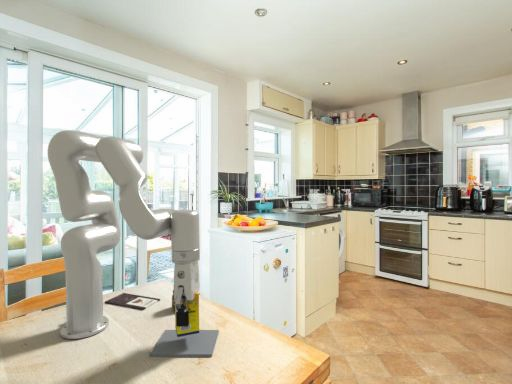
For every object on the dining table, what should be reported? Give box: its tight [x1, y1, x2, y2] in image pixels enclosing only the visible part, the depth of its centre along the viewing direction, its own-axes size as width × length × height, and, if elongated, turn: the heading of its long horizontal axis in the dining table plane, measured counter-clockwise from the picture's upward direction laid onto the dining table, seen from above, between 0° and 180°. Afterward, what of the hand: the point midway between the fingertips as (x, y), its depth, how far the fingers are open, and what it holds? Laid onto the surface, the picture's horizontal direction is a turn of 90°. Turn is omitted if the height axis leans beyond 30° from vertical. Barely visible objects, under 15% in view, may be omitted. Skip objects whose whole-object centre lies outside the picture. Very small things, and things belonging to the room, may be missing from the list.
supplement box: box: [174, 291, 200, 337], centre depth 77 cm, size 6×6×11 cm
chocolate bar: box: [104, 292, 161, 311], centre depth 105 cm, size 9×1×18 cm
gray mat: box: [149, 329, 220, 358], centre depth 77 cm, size 16×12×1 cm
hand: (186, 318), depth 77 cm, fingers closed on supplement box, 7 cm apart
